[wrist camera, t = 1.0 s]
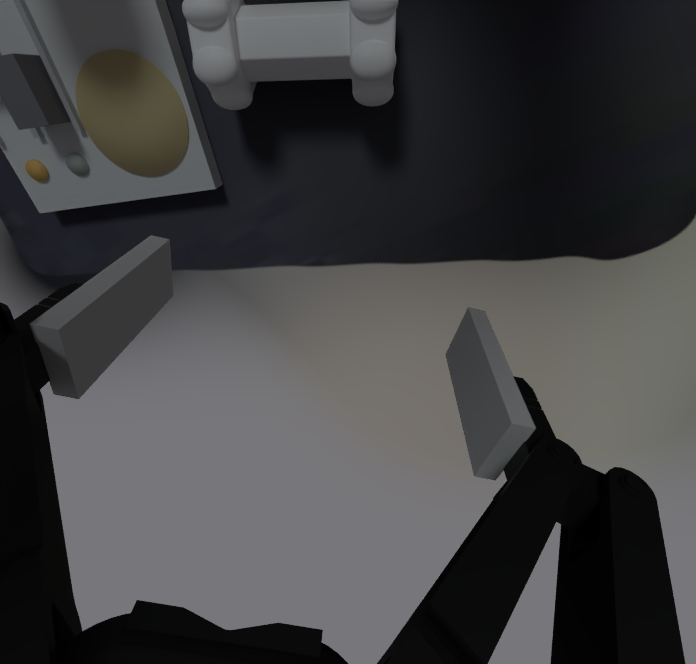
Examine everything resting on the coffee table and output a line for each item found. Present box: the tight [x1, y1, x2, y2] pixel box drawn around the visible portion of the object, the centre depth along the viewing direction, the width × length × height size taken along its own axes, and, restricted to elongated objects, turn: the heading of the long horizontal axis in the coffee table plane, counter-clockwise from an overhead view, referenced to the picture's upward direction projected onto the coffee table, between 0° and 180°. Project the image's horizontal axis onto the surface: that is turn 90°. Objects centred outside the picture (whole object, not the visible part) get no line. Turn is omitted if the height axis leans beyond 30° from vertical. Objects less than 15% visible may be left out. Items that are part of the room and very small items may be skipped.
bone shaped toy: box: [182, 0, 398, 110], centre depth 29 cm, size 15×9×8 cm, turn 91°
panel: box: [0, 0, 222, 213], centre depth 33 cm, size 18×20×5 cm
